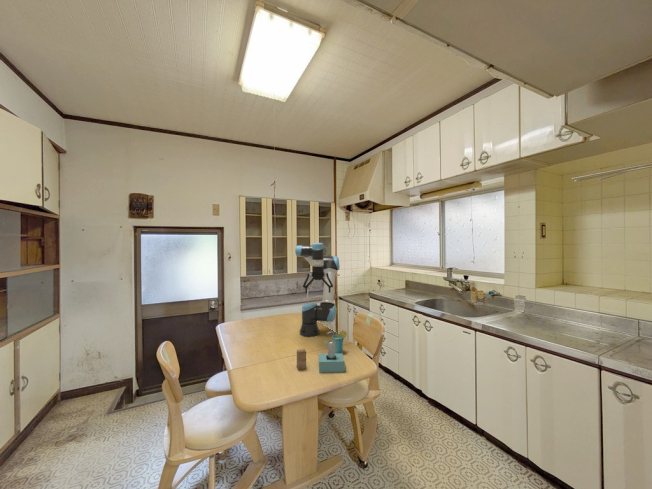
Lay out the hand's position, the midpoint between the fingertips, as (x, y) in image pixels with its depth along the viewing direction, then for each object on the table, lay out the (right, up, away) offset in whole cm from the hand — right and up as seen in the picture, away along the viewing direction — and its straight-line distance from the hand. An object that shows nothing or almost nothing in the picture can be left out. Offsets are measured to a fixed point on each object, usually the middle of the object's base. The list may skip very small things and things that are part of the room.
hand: (317, 297), depth 168 cm
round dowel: (+8, -35, -24) cm, 43 cm away
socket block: (+8, -35, -24) cm, 43 cm away
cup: (+12, -35, -5) cm, 37 cm away
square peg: (-9, -35, -24) cm, 43 cm away
